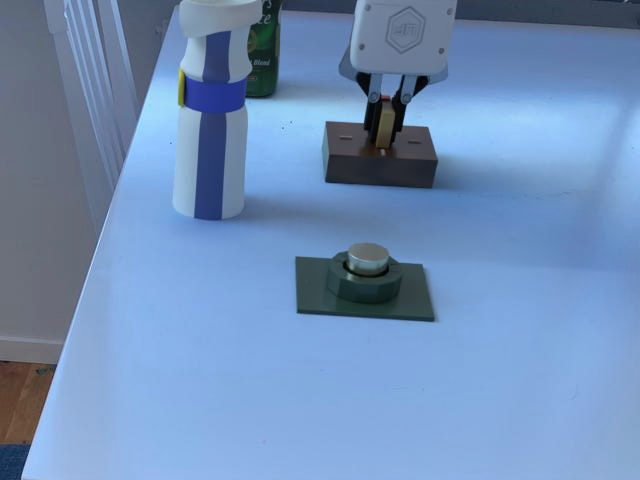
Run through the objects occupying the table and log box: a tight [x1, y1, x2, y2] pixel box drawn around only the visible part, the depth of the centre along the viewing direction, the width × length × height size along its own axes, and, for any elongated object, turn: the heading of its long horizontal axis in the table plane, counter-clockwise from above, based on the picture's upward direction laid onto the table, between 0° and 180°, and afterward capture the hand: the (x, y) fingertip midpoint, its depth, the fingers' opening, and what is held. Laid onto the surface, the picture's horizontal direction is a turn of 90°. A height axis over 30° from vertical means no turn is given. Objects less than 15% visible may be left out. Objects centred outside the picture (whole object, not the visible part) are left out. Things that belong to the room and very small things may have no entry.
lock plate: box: [321, 120, 439, 189], centre depth 108 cm, size 12×10×3 cm
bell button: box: [345, 242, 390, 278], centre depth 84 cm, size 4×4×2 cm
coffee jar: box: [246, 0, 283, 97], centre depth 119 cm, size 10×8×19 cm
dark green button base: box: [294, 250, 436, 323], centre depth 86 cm, size 12×10×4 cm
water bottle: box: [172, 0, 262, 221], centre depth 92 cm, size 8×9×25 cm
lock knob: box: [375, 94, 395, 148], centre depth 105 cm, size 5×1×4 cm, turn 177°
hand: (380, 136), depth 107 cm, fingers closed
